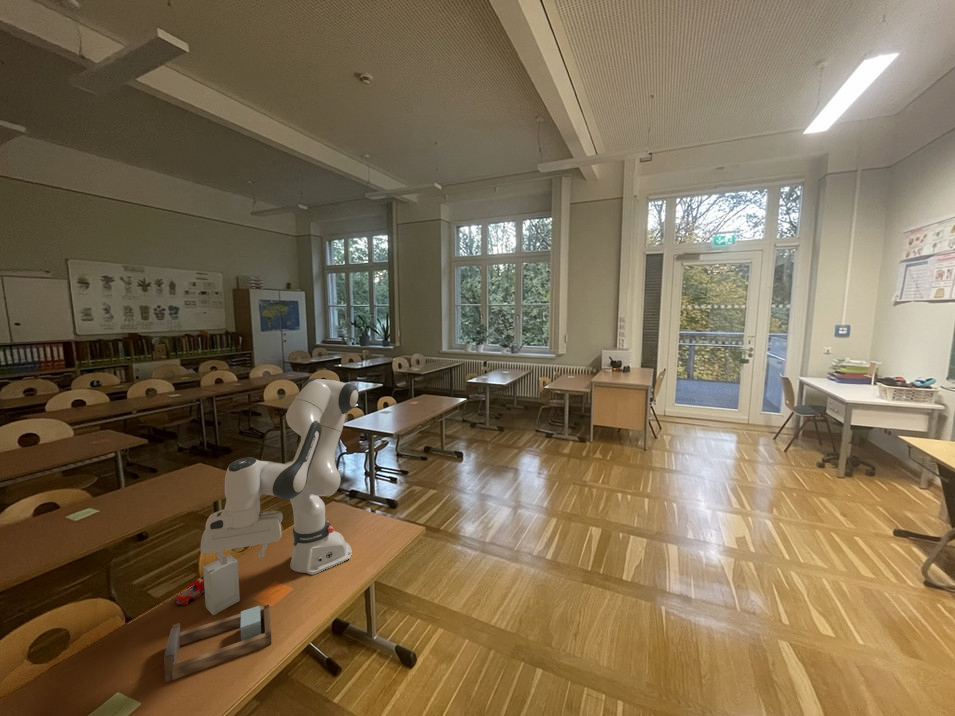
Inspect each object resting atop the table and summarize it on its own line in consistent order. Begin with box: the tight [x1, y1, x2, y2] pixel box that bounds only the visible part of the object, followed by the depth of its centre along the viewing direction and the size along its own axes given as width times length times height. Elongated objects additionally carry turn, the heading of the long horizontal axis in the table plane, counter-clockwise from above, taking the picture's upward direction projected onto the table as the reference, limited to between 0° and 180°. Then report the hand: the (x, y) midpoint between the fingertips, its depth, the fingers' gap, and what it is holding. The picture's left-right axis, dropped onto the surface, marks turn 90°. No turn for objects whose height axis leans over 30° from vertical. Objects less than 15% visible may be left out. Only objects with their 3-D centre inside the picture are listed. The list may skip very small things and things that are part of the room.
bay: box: [163, 604, 272, 684], centre depth 109 cm, size 24×14×6 cm, turn 121°
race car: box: [175, 575, 205, 606], centre depth 129 cm, size 13×5×4 cm, turn 163°
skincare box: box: [202, 554, 241, 616], centre depth 123 cm, size 8×6×15 cm
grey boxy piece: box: [239, 605, 262, 641], centre depth 112 cm, size 5×8×6 cm, turn 31°
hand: (242, 560), depth 112 cm, fingers open, 8 cm apart
